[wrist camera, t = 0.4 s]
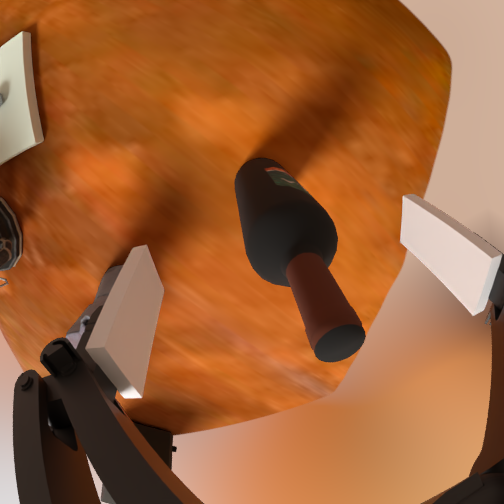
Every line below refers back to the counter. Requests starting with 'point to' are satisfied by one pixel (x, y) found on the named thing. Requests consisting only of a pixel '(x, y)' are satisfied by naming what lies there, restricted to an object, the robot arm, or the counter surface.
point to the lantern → (9, 238)
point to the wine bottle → (297, 254)
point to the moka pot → (93, 305)
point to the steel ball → (1, 99)
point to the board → (18, 99)
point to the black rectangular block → (160, 445)
